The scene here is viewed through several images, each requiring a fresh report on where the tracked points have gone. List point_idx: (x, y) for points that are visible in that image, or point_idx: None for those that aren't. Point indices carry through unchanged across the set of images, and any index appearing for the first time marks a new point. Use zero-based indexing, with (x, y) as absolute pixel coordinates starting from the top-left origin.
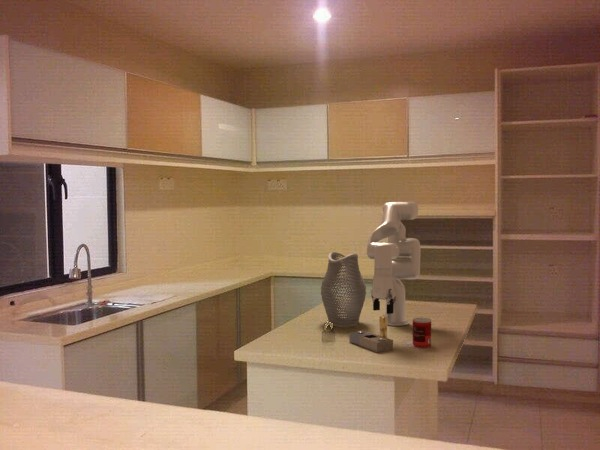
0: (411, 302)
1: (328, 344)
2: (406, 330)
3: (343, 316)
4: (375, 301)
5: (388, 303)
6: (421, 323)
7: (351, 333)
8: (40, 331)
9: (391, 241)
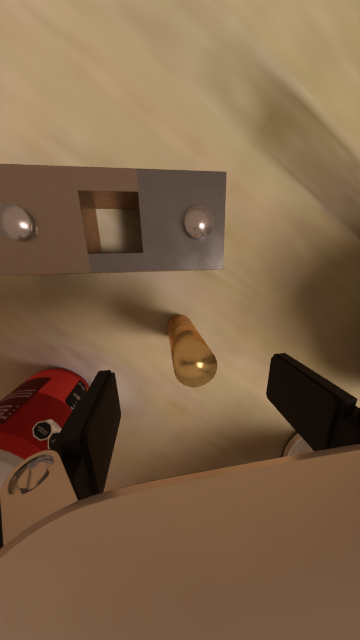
0: None
1: (226, 72)
2: (238, 438)
3: None
4: (338, 418)
5: (37, 469)
6: None
7: (210, 172)
8: None
9: None
